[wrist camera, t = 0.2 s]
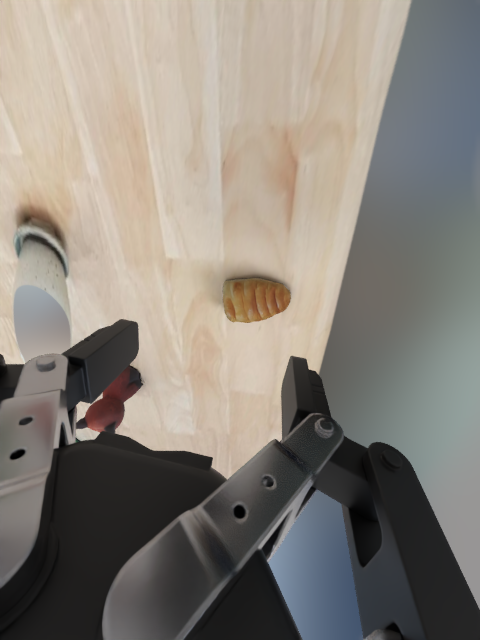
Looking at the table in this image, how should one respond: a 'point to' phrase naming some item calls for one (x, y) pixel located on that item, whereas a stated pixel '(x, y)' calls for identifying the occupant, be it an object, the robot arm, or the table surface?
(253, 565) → the robot arm
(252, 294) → the pastry
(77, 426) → the stuffed fox
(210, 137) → the table surface
